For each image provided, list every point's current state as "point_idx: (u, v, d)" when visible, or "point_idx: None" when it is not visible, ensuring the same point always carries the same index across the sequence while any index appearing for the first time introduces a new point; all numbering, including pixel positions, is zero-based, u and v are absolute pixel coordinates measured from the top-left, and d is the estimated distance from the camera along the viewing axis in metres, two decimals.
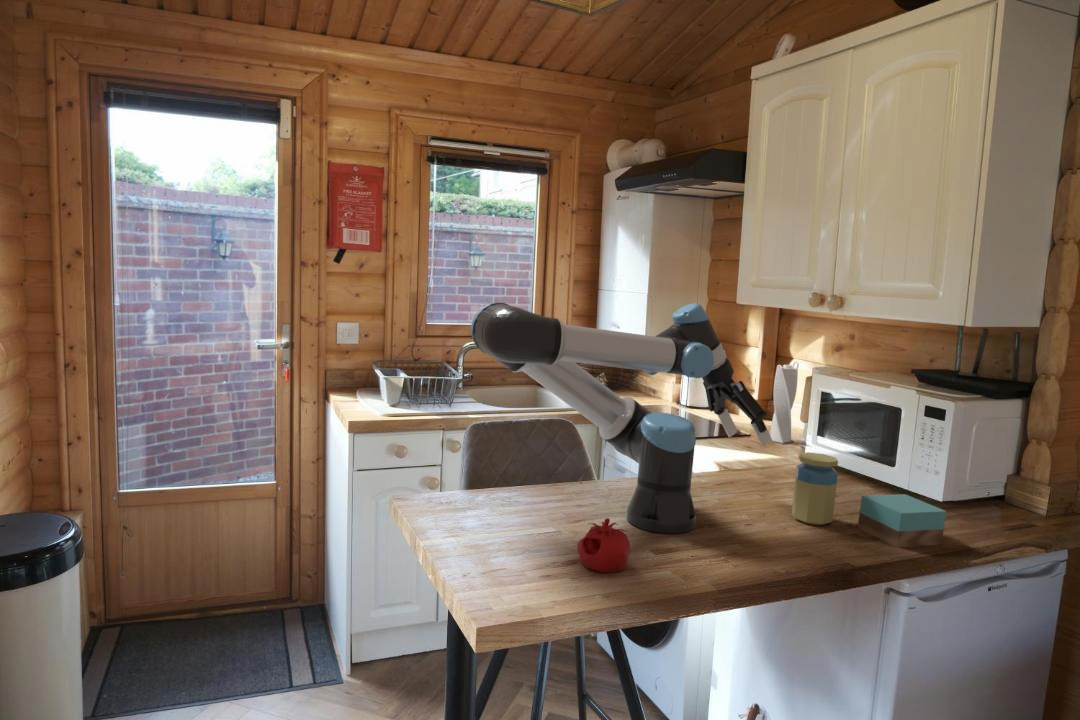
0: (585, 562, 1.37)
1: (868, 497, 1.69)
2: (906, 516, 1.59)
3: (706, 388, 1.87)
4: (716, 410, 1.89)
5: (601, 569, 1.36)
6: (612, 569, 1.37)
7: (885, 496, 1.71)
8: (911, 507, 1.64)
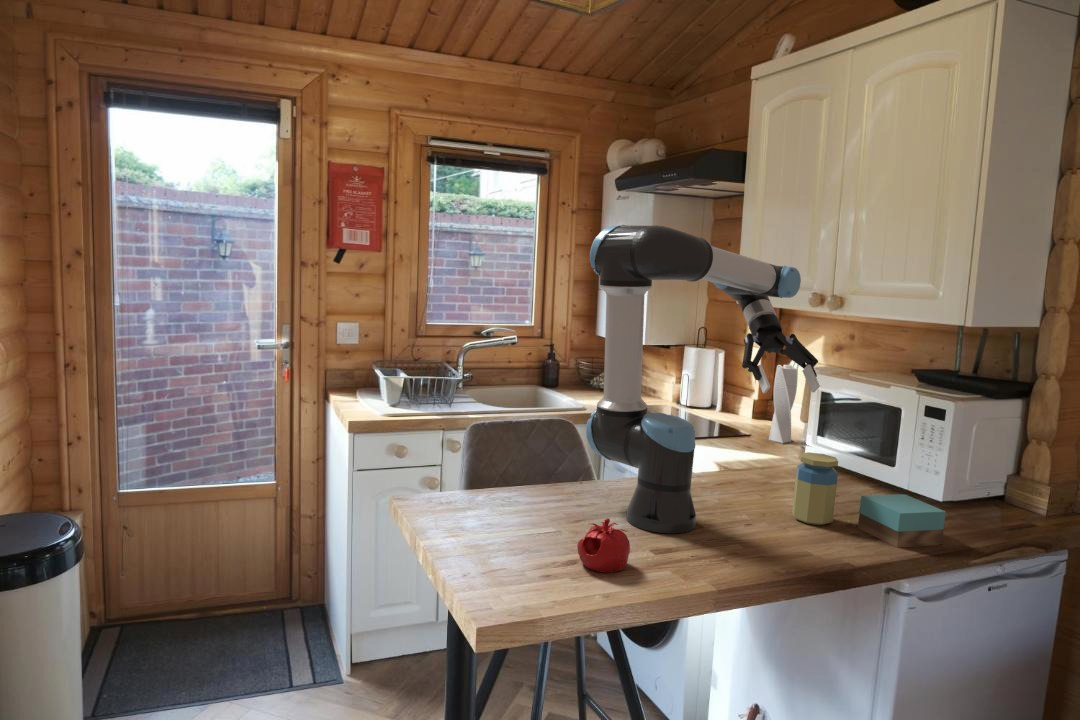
0: (585, 562, 1.37)
1: (868, 497, 1.69)
2: (905, 516, 1.59)
3: (751, 339, 1.88)
4: (758, 360, 1.84)
5: (601, 569, 1.36)
6: (612, 569, 1.37)
7: (885, 496, 1.71)
8: (910, 507, 1.63)
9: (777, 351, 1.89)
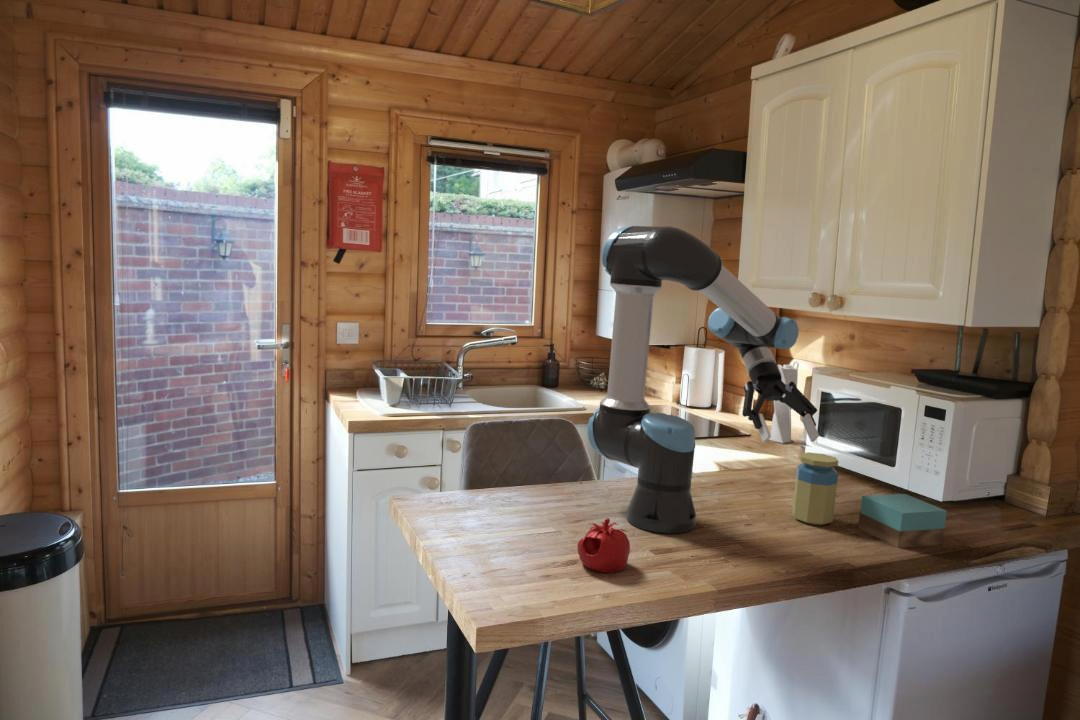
0: (585, 562, 1.37)
1: (869, 497, 1.69)
2: (907, 516, 1.59)
3: (751, 386, 1.88)
4: (758, 409, 1.84)
5: (601, 569, 1.36)
6: (612, 569, 1.37)
7: (885, 496, 1.71)
8: (912, 507, 1.64)
9: (777, 399, 1.90)
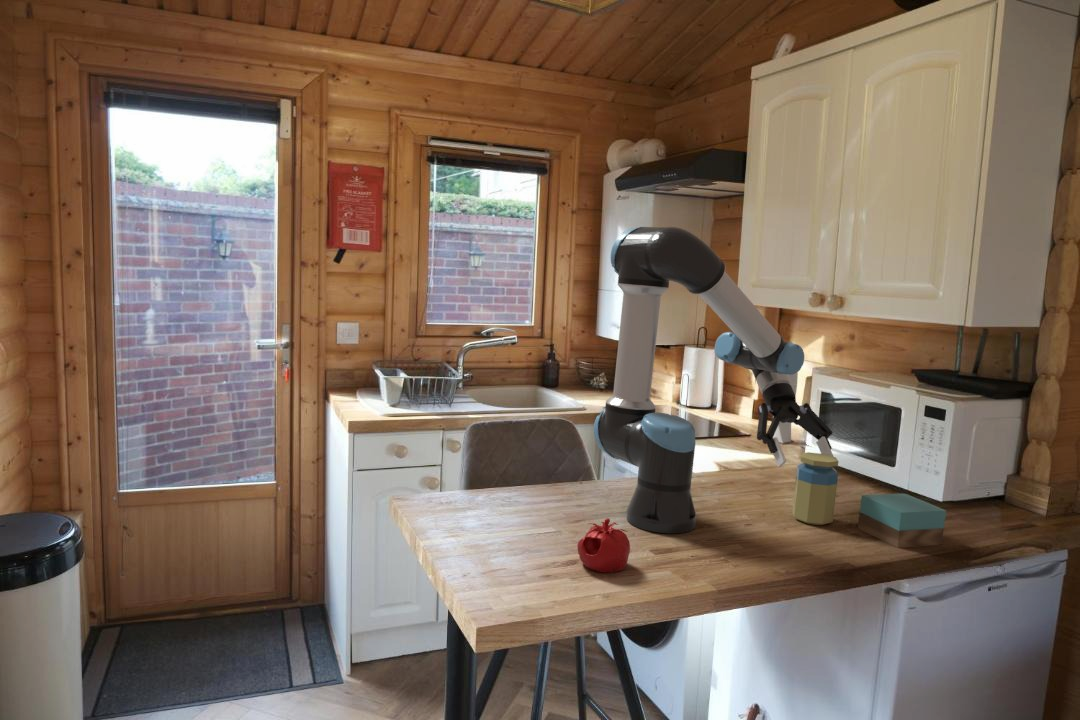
0: (585, 562, 1.37)
1: (868, 496, 1.69)
2: (906, 516, 1.60)
3: (765, 409, 1.84)
4: (773, 432, 1.80)
5: (601, 569, 1.36)
6: (612, 569, 1.37)
7: (885, 495, 1.71)
8: (911, 506, 1.64)
9: (791, 421, 1.86)
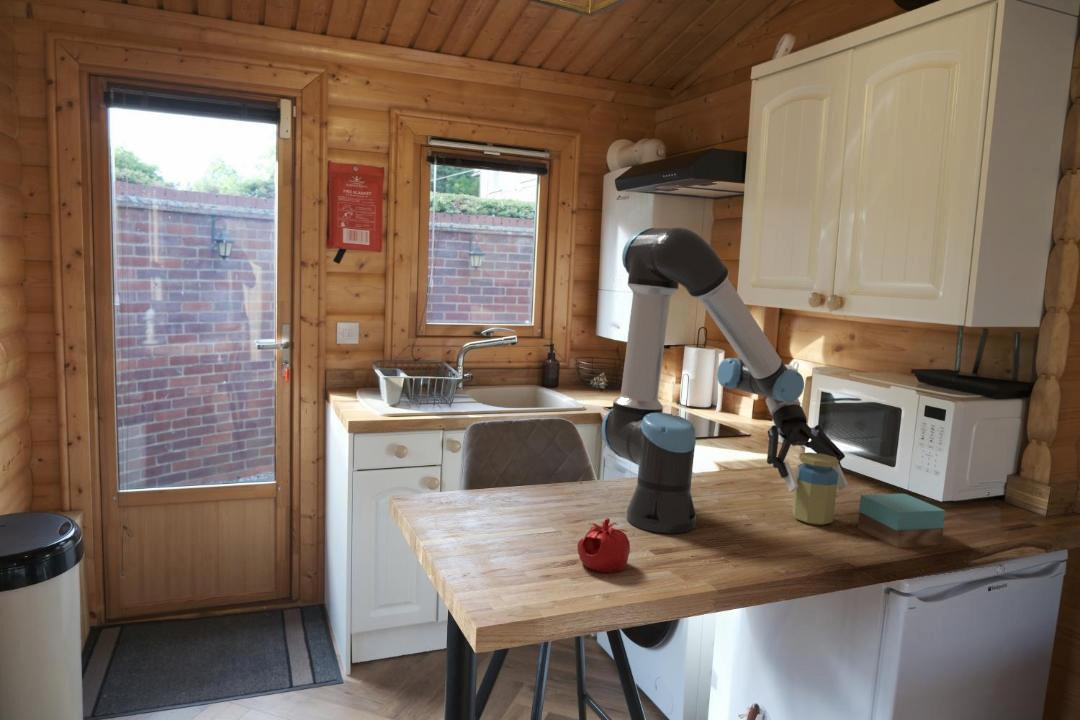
0: (585, 562, 1.37)
1: (867, 496, 1.70)
2: (904, 515, 1.60)
3: (776, 431, 1.79)
4: (784, 456, 1.75)
5: (601, 569, 1.36)
6: (612, 569, 1.37)
7: (884, 495, 1.71)
8: (910, 506, 1.64)
9: (802, 444, 1.81)
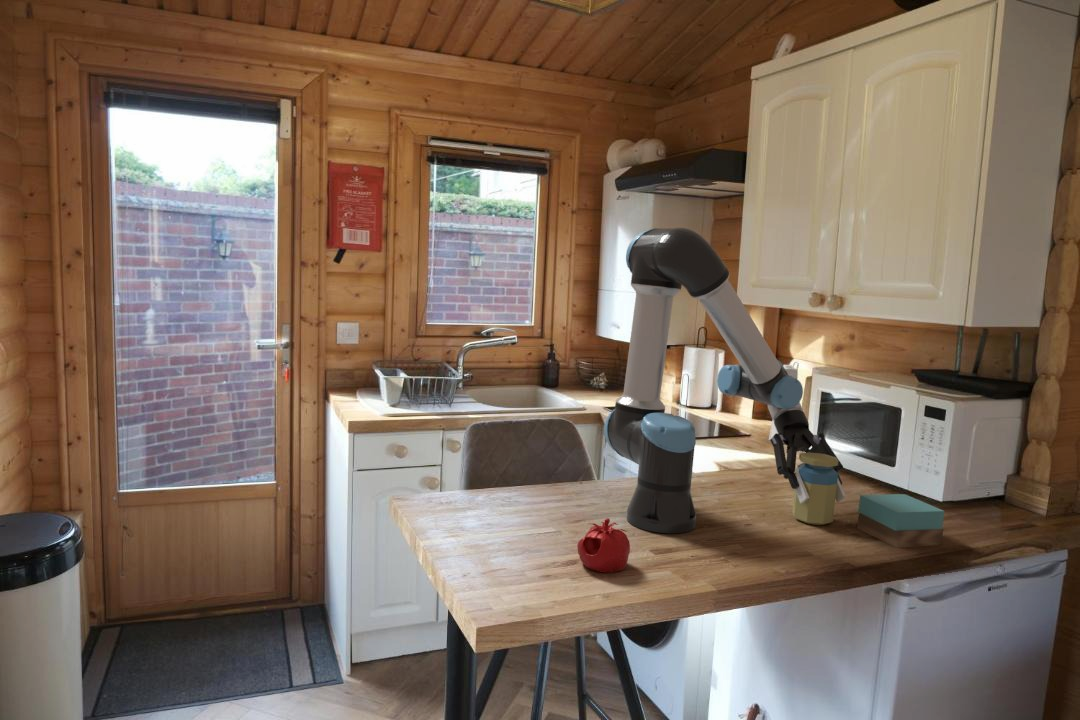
0: (585, 562, 1.37)
1: (866, 496, 1.70)
2: (903, 516, 1.60)
3: (780, 440, 1.77)
4: (793, 466, 1.73)
5: (601, 569, 1.36)
6: (612, 569, 1.37)
7: (884, 496, 1.71)
8: (909, 507, 1.64)
9: (804, 450, 1.79)
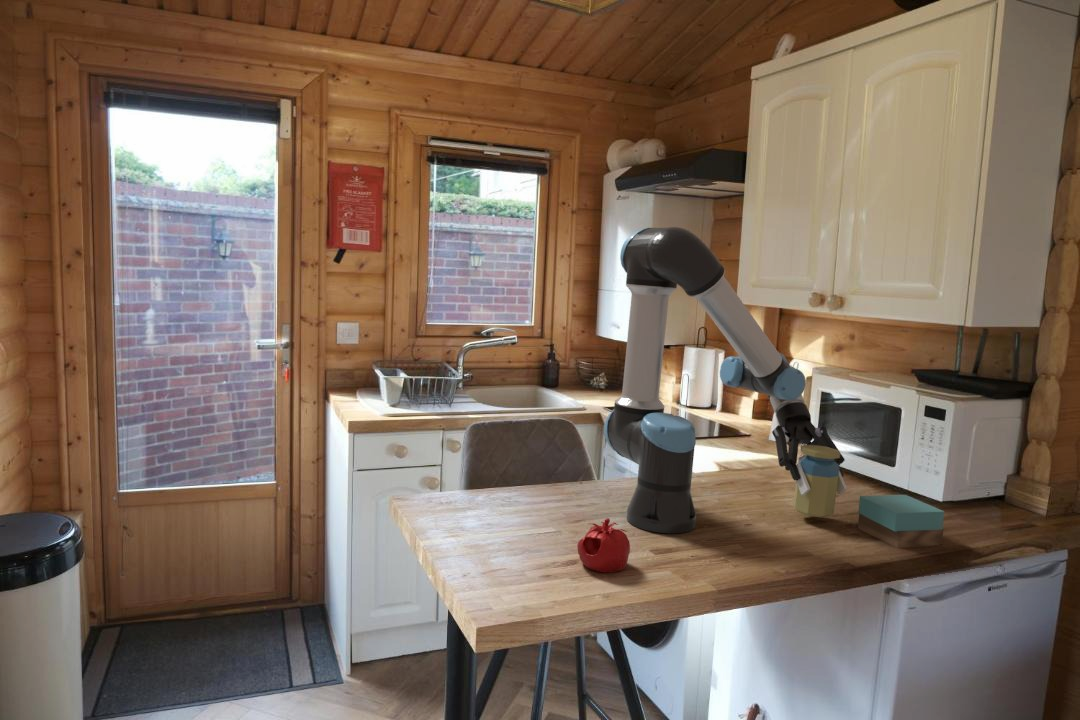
0: (585, 562, 1.37)
1: (866, 497, 1.69)
2: (902, 516, 1.59)
3: (782, 432, 1.77)
4: (795, 458, 1.73)
5: (601, 569, 1.36)
6: (612, 569, 1.37)
7: (884, 496, 1.71)
8: (909, 507, 1.63)
9: (806, 442, 1.79)
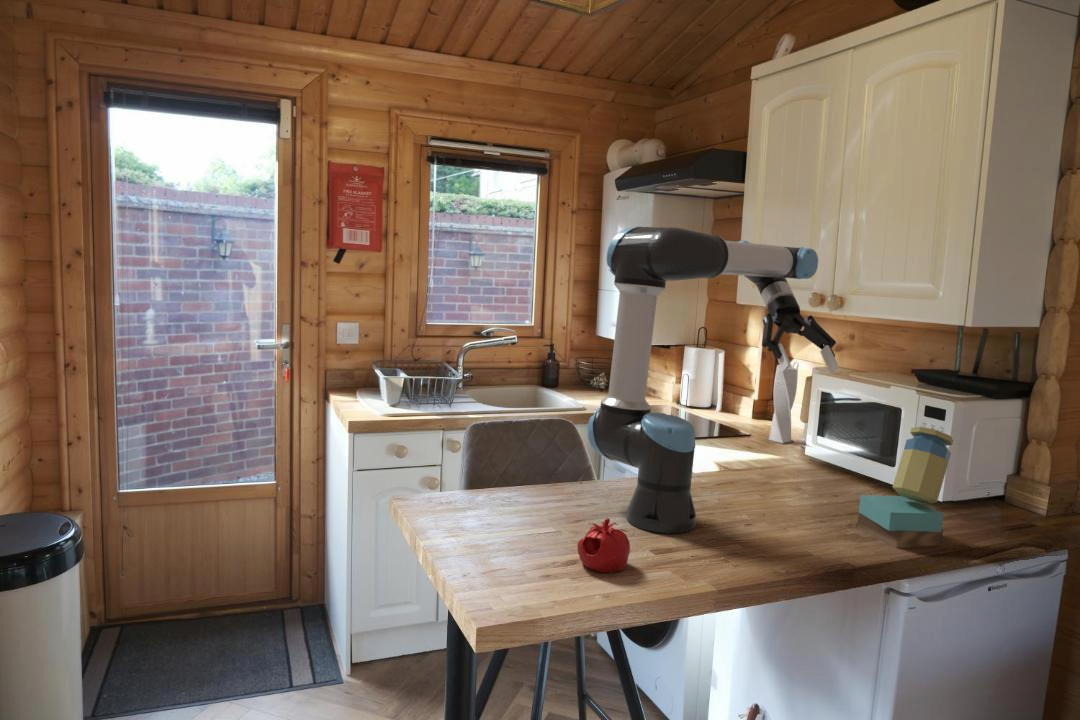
0: (585, 562, 1.37)
1: (866, 497, 1.70)
2: (897, 516, 1.59)
3: (770, 318, 1.89)
4: (778, 339, 1.85)
5: (601, 569, 1.36)
6: (612, 569, 1.37)
7: (886, 497, 1.70)
8: (907, 508, 1.63)
9: (795, 332, 1.91)
